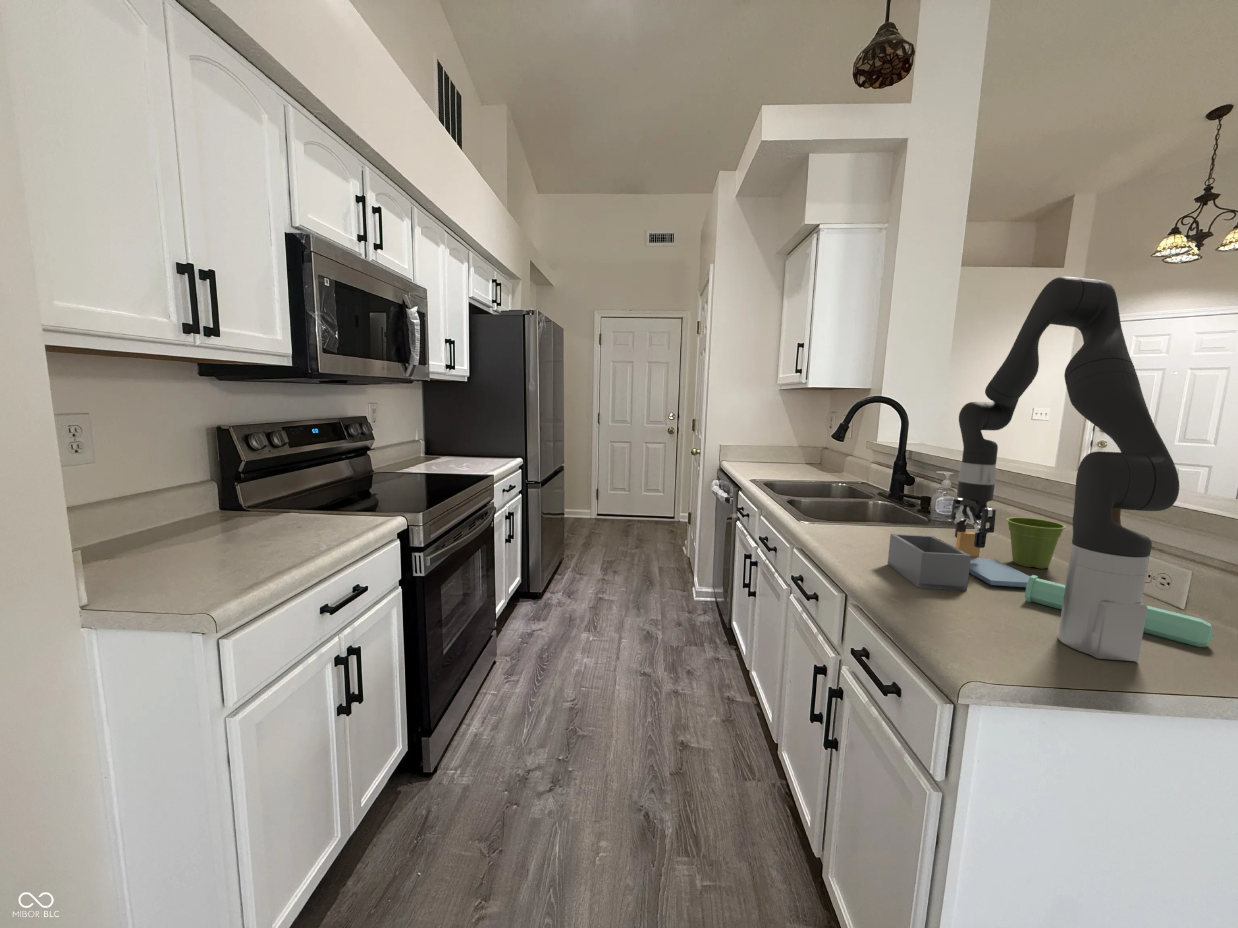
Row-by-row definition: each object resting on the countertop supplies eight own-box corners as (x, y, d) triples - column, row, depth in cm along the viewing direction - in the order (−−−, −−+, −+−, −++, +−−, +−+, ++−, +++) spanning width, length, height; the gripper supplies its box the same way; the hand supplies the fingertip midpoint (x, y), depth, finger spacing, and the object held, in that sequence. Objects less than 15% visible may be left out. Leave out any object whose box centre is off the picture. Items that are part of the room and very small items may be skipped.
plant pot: (1007, 554, 136) (1012, 514, 135) (1064, 566, 127) (1070, 523, 126) (995, 562, 129) (1000, 520, 127) (1054, 575, 120) (1061, 530, 118)
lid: (1043, 592, 109) (1048, 557, 108) (989, 588, 110) (994, 554, 109) (986, 563, 129) (990, 533, 128) (942, 560, 130) (945, 531, 129)
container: (1218, 613, 85) (1034, 569, 104) (1214, 634, 82) (1025, 584, 101) (1212, 639, 87) (1033, 591, 106) (1208, 660, 84) (1024, 607, 103)
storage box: (966, 590, 108) (970, 555, 107) (918, 587, 109) (922, 552, 108) (929, 566, 124) (932, 535, 123) (887, 564, 125) (890, 533, 124)
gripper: (1011, 486, 118) (1002, 551, 120) (975, 477, 132) (968, 535, 134) (977, 484, 119) (969, 549, 121) (945, 476, 133) (939, 534, 135)
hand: (969, 542), depth 128 cm, fingers open, 8 cm apart
